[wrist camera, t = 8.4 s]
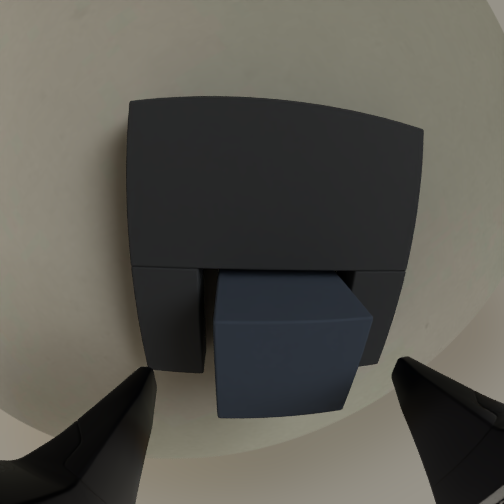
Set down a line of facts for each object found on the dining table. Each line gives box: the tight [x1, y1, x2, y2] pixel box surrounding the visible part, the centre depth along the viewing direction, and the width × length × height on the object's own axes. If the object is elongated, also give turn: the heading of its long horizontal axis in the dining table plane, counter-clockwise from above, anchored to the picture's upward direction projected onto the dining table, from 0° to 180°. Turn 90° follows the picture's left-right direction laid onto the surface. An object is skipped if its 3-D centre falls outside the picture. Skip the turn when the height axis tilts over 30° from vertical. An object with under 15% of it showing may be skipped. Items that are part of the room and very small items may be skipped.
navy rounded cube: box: [213, 269, 373, 418], centre depth 11 cm, size 5×5×5 cm
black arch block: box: [126, 96, 424, 373], centre depth 12 cm, size 12×12×2 cm
